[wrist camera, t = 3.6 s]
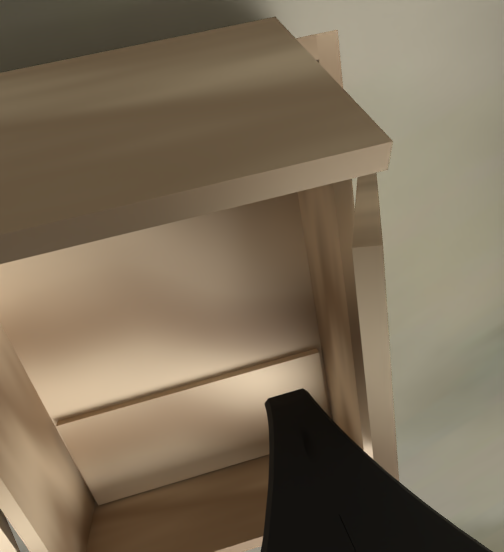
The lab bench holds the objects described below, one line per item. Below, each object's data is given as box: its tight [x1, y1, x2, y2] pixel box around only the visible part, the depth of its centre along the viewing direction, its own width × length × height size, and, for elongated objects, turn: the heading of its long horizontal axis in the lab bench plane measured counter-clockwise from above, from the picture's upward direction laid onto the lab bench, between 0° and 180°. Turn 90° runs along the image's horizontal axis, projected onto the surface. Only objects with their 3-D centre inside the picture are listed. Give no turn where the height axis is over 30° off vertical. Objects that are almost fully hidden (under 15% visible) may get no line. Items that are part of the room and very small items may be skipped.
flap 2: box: [352, 173, 399, 481], centre depth 10 cm, size 10×1×5 cm, turn 11°
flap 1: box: [0, 17, 393, 264], centre depth 6 cm, size 1×9×5 cm, turn 100°
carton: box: [0, 30, 373, 552], centre depth 13 cm, size 16×15×4 cm
